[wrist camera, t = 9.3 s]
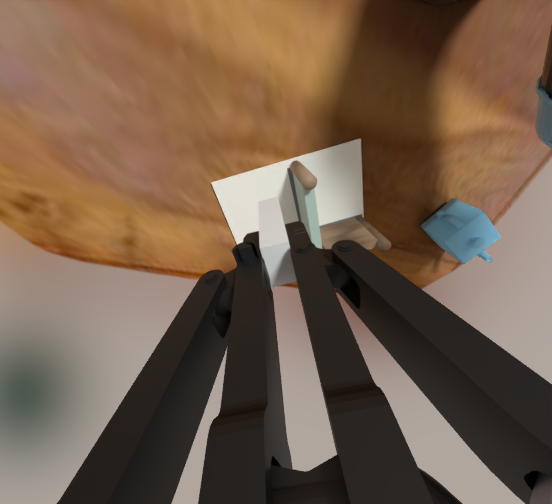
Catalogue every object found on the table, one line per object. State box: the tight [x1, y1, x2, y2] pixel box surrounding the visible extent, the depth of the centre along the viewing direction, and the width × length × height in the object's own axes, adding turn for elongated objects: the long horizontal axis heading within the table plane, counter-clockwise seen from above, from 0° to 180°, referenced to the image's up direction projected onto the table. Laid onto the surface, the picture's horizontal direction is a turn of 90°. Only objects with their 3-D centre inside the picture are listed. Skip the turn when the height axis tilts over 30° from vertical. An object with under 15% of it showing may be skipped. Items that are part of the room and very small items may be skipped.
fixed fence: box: [320, 216, 391, 252], centre depth 32 cm, size 11×2×9 cm, turn 105°
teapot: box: [420, 198, 501, 264], centre depth 35 cm, size 12×6×8 cm, turn 51°
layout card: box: [211, 138, 364, 245], centre depth 34 cm, size 21×15×1 cm
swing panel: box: [290, 160, 322, 249], centre depth 29 cm, size 10×2×8 cm, turn 13°
